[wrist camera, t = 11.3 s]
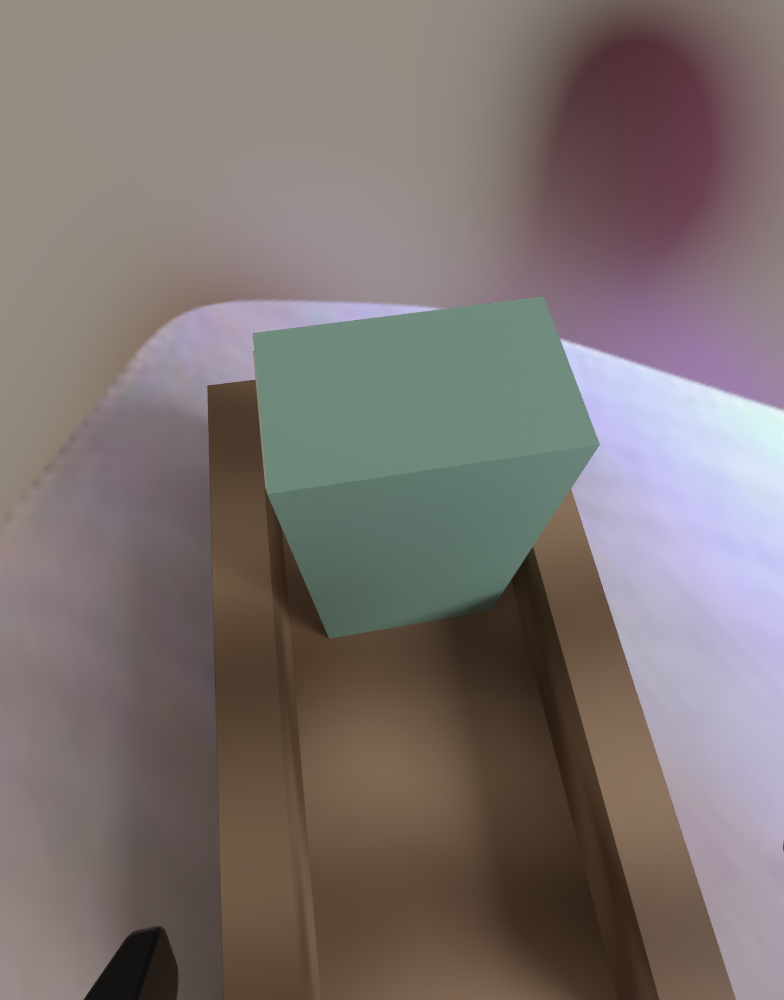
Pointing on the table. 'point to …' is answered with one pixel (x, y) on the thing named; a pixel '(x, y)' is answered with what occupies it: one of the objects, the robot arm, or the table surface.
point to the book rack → (436, 783)
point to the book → (417, 455)
